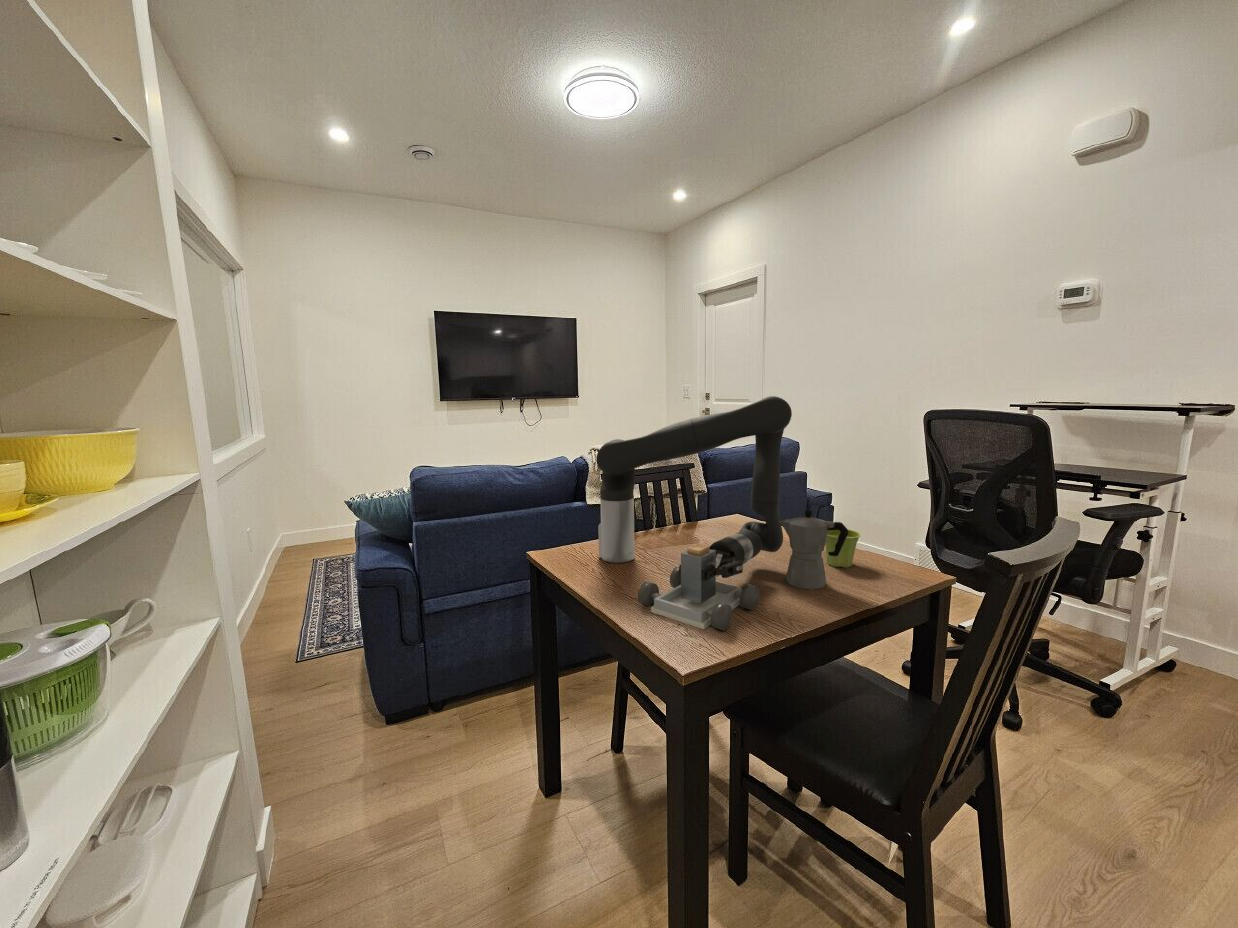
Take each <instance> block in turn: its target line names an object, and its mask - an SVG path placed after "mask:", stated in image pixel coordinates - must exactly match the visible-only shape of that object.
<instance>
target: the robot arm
mask: <svg viewBox="0 0 1238 928" xmlns="http://www.w3.org/2000/svg"><path fill="white" fill-rule="evenodd" d="M791 407H792V406H791V405H790V404H789V403H788V402H787V401H786V400H785V399H784V398H782V397H779V396H775V395H774V396H771V395H770V396H767V397H764V398H762V399H760V400H757V401H756V402H753V403H752V402H751V403H750V404H748V405H745V406H742V407H740V408H736V409H733V410H730V411H725V412H724V411H723V412H717V413H710V414H706V415H705V414H704V415H701V416H697V417H692V418H689V419H685V420H681V421H678V422H675V423H673V424H670V425H666V426H664V427H662V428H660V429H658V430H655V431H653V432H651V433H649V434H647V435H643V436H639V437H635V438H631V439H625V440H624V439H621V438H620V439H618V438H616V439H612V440H609V441H608V442H606V443H604V444H603V445H602V446H600V449H598V451H597V454H596V458H595V460H596V465H597V467H598V469H599V470H600V471H601V473H602V474H601V475H602V476H601V477H602V480H601V485H600V490H599V496H600V500H599V501H600V523H599V524H598V528H597V529H598V532H597V533H598V557H599V558H601V560H603V561H605V562H608V563H613V564H615V563H617V564H618V563H619V564H620V563H627V562H630V561H632V560H634V559H635V508H634V506H635V505H634V503H635V502H634V497H635V495H634V490H635V485H636V484H635V482H636V481H635V478H636V469H637V468H640V467H642V466H643V467H644V466H645V465H648V464H652V463H658V462H663V461H669V460H674V459H679V458H685V457H689V456H693V455H697V454H700V453H704V452H707V451H710V450H713V449H715V448H719V447H722V446H723V445H724V446H725V445H726V444H728V443H731V442H733V441H736V440H739V439H742V438H743V439H744V438H747V437H753V436H754V438H755V452H754V453H755V454H754V462H753V464H754V465H753V472H752V478H751V491H750V492H751V493H750V494H751V495H750V504H749V505H750V506H749V507H750V508H749V509H750V510H751V511H752V512H753V513H754V514H757V515H759V516H761V517H763V519H764V521H765V522H759V521H747V522H745V523H744V524H743V525H742V527H741V529H740V530H739V531H738V532H736V533H734V534H730V535H727V536H725V537H723V538H721V539H719V540H716V541H715V542H713V543H712V544H710V549H711V550H716V563H715V564H713V566H710V567H708V568H706V569H704V570H703V571H702V580H704V581H706V580H708V579H711V578H712V577H716V578H718V577H719V576H721V578H722V579H728V578H731V577H733V576H736V575H739V574H743V571H744V570H743V569H744V565H745V564H746V563H747V562H749V561H750V560H752V559H753V558H755V557H756V556H758V555H759V554H760V553H761V551H762V552H768V553H776V552H778V551H779V550H780V549H781V547H782V545H783V543H784V533H783V531H784V530H783V526H782V525H781V524H780V523H779V522H780V521H781V519H780V518H781V517H780V511H779V509H780V508H779V504H780V503H779V502H780V490H781V489H780V488H781V469H780V466H781V464H780V461H781V460H780V456H781V455H780V454H781V445H782V440H783V437H784V436H783V434H784V432H785V429H786V427H788V425H789V424H790V422H791V420H792V415H793V414H792V408H791ZM678 567H679V572H680V574H681V563H680V564H679V565H678Z"/></svg>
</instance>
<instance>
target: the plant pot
mask: <svg viewBox="0 0 1238 928" xmlns="http://www.w3.org/2000/svg"><path fill="white" fill-rule="evenodd" d="M847 529H848V528H847ZM840 533H841V532H840V531H839V530H828V533H827V537H826V542H825V547H824V550H825V558H826V563H827V564H828V565H829V566H832V567H835V568H840V567H843V568H846V569H847V568H849V567H850V568H851V566H852V565H853V561H854V556H855V551H856V549H857V548H856V547H857V543H858V542H859V538H860V537H861V533H860V532H858V531H856V530H853V529H848V535H847V537H846V539H845V542H844V544H843V546H842V548H841V551H840V553H839V555H838V556H830V555H829V553H828V552H833V551H834V550H835V545H836V543H837V541H838V537H839V534H840Z"/></svg>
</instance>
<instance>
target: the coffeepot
mask: <svg viewBox="0 0 1238 928" xmlns="http://www.w3.org/2000/svg"><path fill="white" fill-rule="evenodd" d="M812 513H813V511H812V510H811V509H805V510H804V514H805V515H804V517H803V516H800V517H799V516H798V517H793V518H786V519H780V522H779V523H780V524H781V527H782V529H784V530H785V531H784V532H786V534H787V536H788V538H789V540H788V541H789V546H790V548H791V555H790V557H789V561H788V567H787V571H786V575H785V580H786V582H787V583H788V585H790V586H792V587H794V588H797V589H802V590H819V589H823V588H824V587H825V586H826V585H827V578H826V571H825V564H824V558H823V557H822V555H823V553H822V552H823V551H825V542H826V537H827V533H828V530H839V531H840V532H841V533H840V534H839V537H838V541H837V543H836V545H835V550H834V551H833V552H828V553H829V555H830V556H838V555H839V553H840V551H841V548H842V546H843V544H844V542H845V539H846V537H847V535H848V528H847V527H846V526H845V525H844V523H842V522H841V521H827V520H825V519H824V520H823V519H821V518H817V517H812Z"/></svg>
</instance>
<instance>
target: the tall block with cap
mask: <svg viewBox="0 0 1238 928" xmlns="http://www.w3.org/2000/svg"><path fill="white" fill-rule="evenodd" d="M710 546H711V545H710ZM710 546H709V545H704V544H699V543H696V544H694V545H691V546H690V547H688V548H687V550H685V551H683V552H681V553H680V564H681V598H683V599H686V600H690V601H693V602H697V603H700V604H702V603H703V602H705V601H706V600H708V599H710V598H711V597H713V596H714V595H716V582H717V577H712V578H711V579H708V580H706V581H704V580H702V571H703V570H704V569H706V568H708V567H710V566H713V564H715V563H716V550H711V549H710Z"/></svg>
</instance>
